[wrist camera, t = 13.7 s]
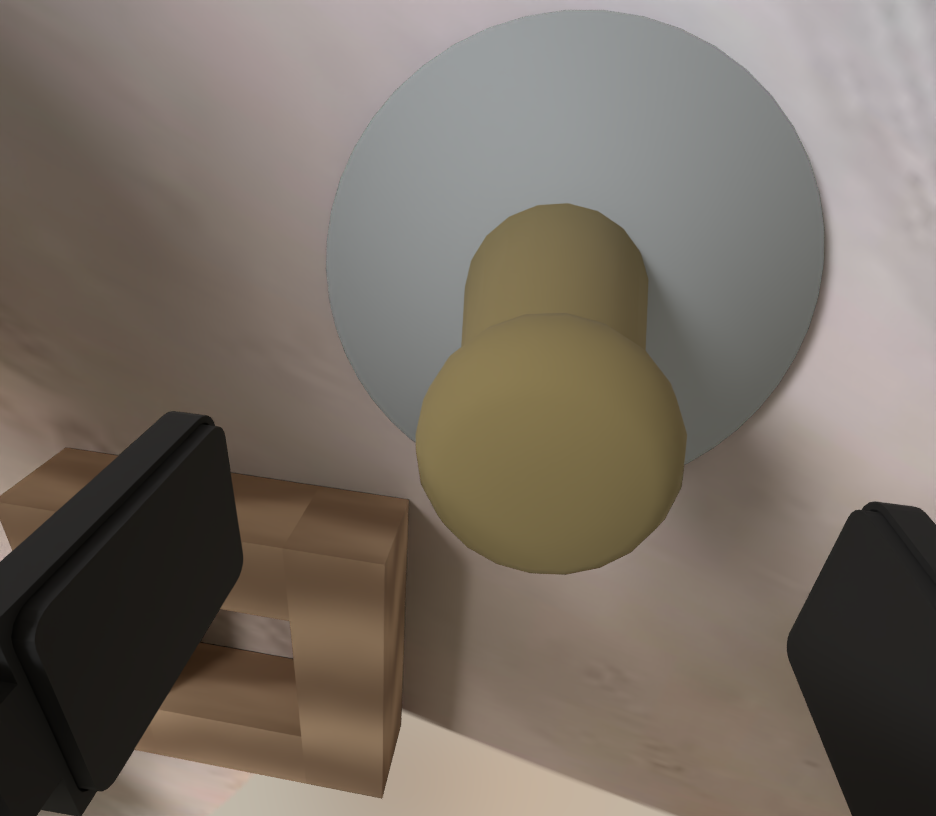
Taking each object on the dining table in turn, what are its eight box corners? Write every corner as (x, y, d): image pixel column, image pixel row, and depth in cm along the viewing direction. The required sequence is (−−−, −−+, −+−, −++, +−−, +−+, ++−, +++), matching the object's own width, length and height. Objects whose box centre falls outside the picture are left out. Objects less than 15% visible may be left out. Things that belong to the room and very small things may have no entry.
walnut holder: (65, 447, 27) (-8, 501, 24) (408, 499, 26) (384, 565, 22) (134, 675, 35) (87, 740, 32) (401, 724, 34) (382, 798, 30)
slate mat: (324, -9, 17) (314, -13, 17) (904, 36, 16) (920, 34, 15) (340, 451, 25) (334, 461, 24) (730, 508, 24) (735, 521, 23)
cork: (686, 251, 19) (813, 433, 9) (593, 405, 22) (615, 664, 12) (508, 170, 18) (445, 270, 9) (439, 337, 21) (335, 550, 12)
